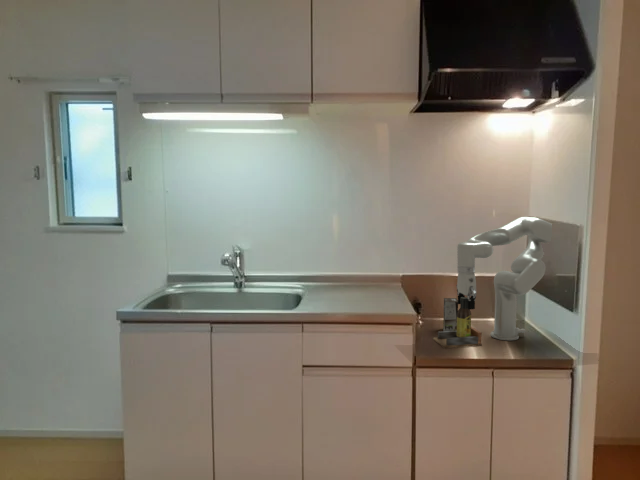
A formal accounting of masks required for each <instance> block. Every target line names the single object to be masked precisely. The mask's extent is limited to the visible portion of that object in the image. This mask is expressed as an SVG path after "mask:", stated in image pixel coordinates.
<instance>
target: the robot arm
mask: <svg viewBox="0 0 640 480" xmlns="http://www.w3.org/2000/svg"><path fill="white" fill-rule="evenodd" d="M552 224H553V223H551V222H549V221H547V220H544V219H542V218H538V217H534V216H520V217H518V218H515V219H513V220H512V221H510V222H508V223H506V224H505V225H502V226H501V227H498V228H495V229H490V230H487V231H483V232H481V233H479V234H476V235H475V236H473V237H471V238H469V239H468V240H467V241H464V242H459V243H458V244H457V246H456V247H457V265H456V266H457V269H456V270H457V284H456V291H457V300H458V305H461V301H460V298H461V297H468V300H469V301H468V310H470V311H471V310H475V309H476V298H477V294H478V293H477V281H476V280H477V279H476V274H475V273H476V271H475V270H476V259H477V258H478V259H486V258H487V259H488V258H489V257H491V256H492V255H493V254H494V247H495V246H496V247H499V246H506V245H510V244H512V243H513V242H515V241H518V240H519V239H520V238H522V237H524V236H525V237H526V236H527V239H528V242H527V243H528V244H527V246H526V247H525V249H523V251H522V252H521V253H520V254H519V255H518V256H517V257H516V258H515V259H514V260H513V261H512V263H511V265H510V269H511V271H509V270H500V271H498V272H496V274H495V275H494V278H493V285H494V287H493V288H494V295H495V297H494V298H495V299H494V323H493V330H492V331H490V336H491V337H492V338H494V339H496V340H500V341H516V340H518V339H519V338H520V336H519V334H522V333H526V329H525V328H519V327H517V306H518V304H517V303H518V300H517V296H524V295H526V294H527V293H529V292H530V291H531V290H532V289H533V288H534V287H535V286H536V285H537V283H539V281H541V280H542V278H543V277H544V275H545V273H546V269H547V268H546V263H545V262H544V261H543V260H542V259H543V258H544V256H545V251H544V252H543V248H542V245H541V242H542V243H543V244H548V243H547V242H550V241H551V237H552ZM543 255H544V256H543Z"/></svg>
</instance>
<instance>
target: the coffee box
mask: <svg viewBox="0 0 640 480" xmlns="http://www.w3.org/2000/svg"><path fill="white" fill-rule="evenodd" d="M458 310H459V304H458V297H456V298H455V297H444V298H443V320H442V321H443V324H442V325H443V327H442V330H443V331H457V313H458Z"/></svg>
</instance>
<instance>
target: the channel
mask: <svg viewBox="0 0 640 480" xmlns="http://www.w3.org/2000/svg"><path fill="white" fill-rule="evenodd" d="M456 334H457V331H444V330H443V331H442V330H441V331H437V337H432V340H433V341H435V342H436V343H437V344H439V346H441V347H442V348H443V349H448V348H466V347H467V348H469V347H479V346H482V345H483V344H482V332H481V331H480V330H478V329H476V328H474V327H473V326H471V337H457V335H456Z"/></svg>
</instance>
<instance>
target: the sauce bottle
mask: <svg viewBox="0 0 640 480" xmlns="http://www.w3.org/2000/svg"><path fill="white" fill-rule="evenodd" d="M460 301H461V304H459V308H458V313H457V334H456V335H457V337H471V327H472V312H471V309H470V310H468V301H469V300H468V297H467V296H465V297H461V298H460Z"/></svg>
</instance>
